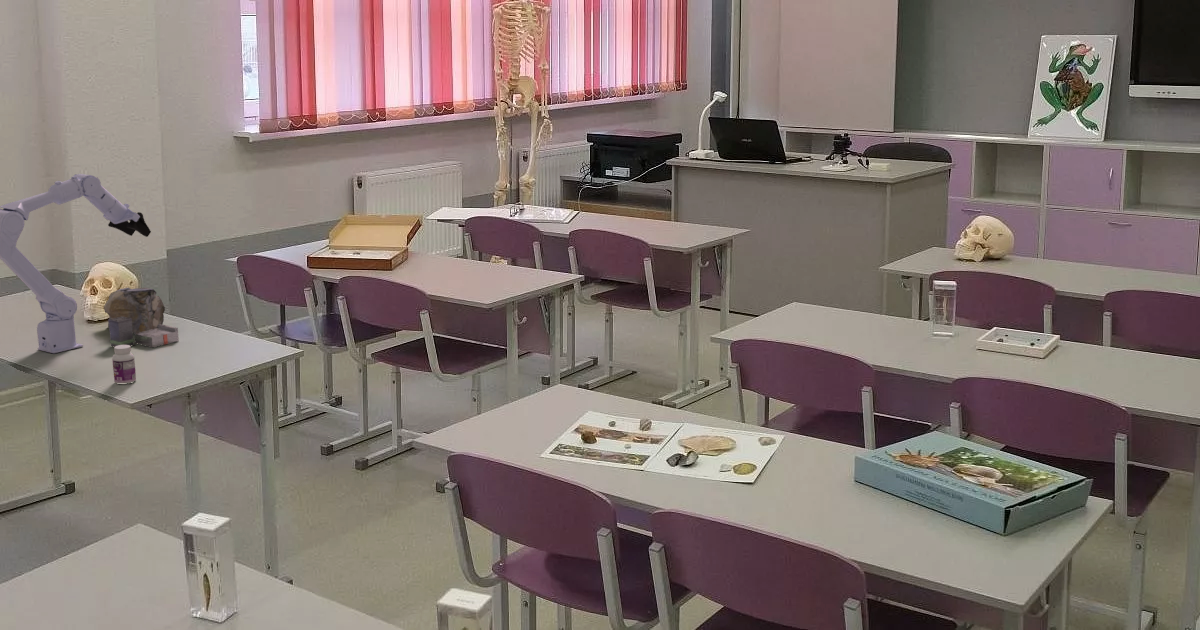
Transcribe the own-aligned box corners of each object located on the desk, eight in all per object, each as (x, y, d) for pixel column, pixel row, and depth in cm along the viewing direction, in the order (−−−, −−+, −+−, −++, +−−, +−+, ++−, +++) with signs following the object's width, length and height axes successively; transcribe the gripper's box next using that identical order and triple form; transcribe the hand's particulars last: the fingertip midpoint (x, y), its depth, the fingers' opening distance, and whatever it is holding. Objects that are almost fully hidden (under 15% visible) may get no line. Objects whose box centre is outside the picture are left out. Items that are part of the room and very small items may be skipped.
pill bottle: (110, 382, 314) (106, 346, 312) (129, 378, 318) (125, 342, 316) (121, 386, 311) (118, 350, 308) (140, 381, 315) (137, 346, 312)
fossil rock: (106, 339, 370) (98, 291, 369) (133, 335, 378) (126, 287, 377) (144, 336, 358) (136, 286, 357) (172, 331, 366) (164, 282, 365)
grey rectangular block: (120, 348, 346) (117, 321, 344) (110, 346, 349) (108, 319, 347) (134, 345, 350) (131, 318, 348) (124, 343, 352) (122, 316, 350)
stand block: (153, 347, 347) (151, 334, 346) (135, 343, 352) (133, 330, 351) (179, 341, 354) (178, 327, 354) (161, 337, 359) (160, 324, 358)
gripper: (130, 194, 349) (162, 223, 358) (101, 193, 357) (133, 222, 366) (117, 213, 346) (150, 242, 355) (87, 212, 354) (120, 240, 363)
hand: (140, 233), depth 361 cm, fingers open, 7 cm apart
